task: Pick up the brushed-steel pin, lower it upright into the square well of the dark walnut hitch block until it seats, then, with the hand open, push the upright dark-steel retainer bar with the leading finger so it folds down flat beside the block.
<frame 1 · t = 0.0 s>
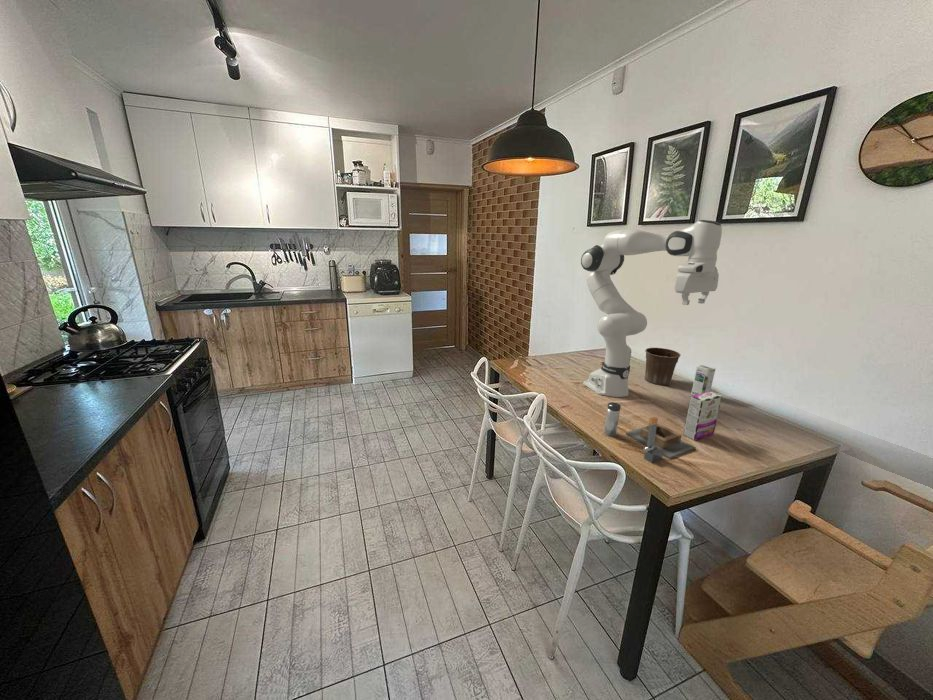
hand: (693, 304, 138), 48 cm above the table, fingers open, 8 cm apart
syrup box: (699, 395, 175), on the table
retainer base: (648, 456, 124), on the table
plant pot: (657, 381, 192), on the table
steel pin: (610, 433, 139), on the table
hitch block: (659, 441, 134), on the table
retainer bar: (652, 432, 122), point 9 cm above the table, hinge at 4.0°
candy bar box: (697, 435, 139), on the table
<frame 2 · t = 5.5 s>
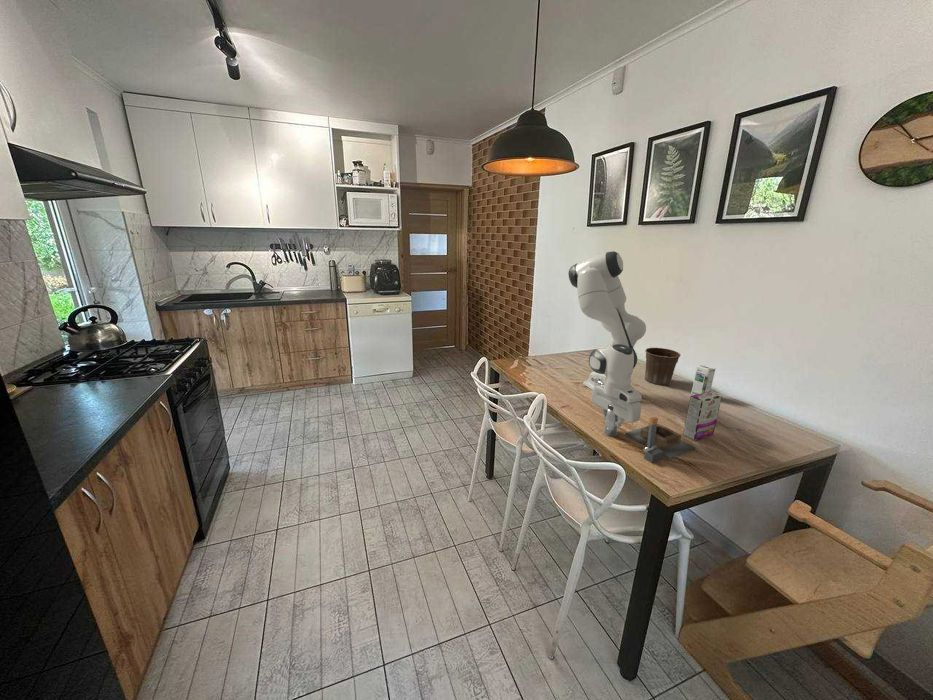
hand: (611, 422, 138), 5 cm above the table, fingers closed on steel pin, 4 cm apart
steel pin: (610, 433, 139), on the table, touching gripper
everything else where it was.
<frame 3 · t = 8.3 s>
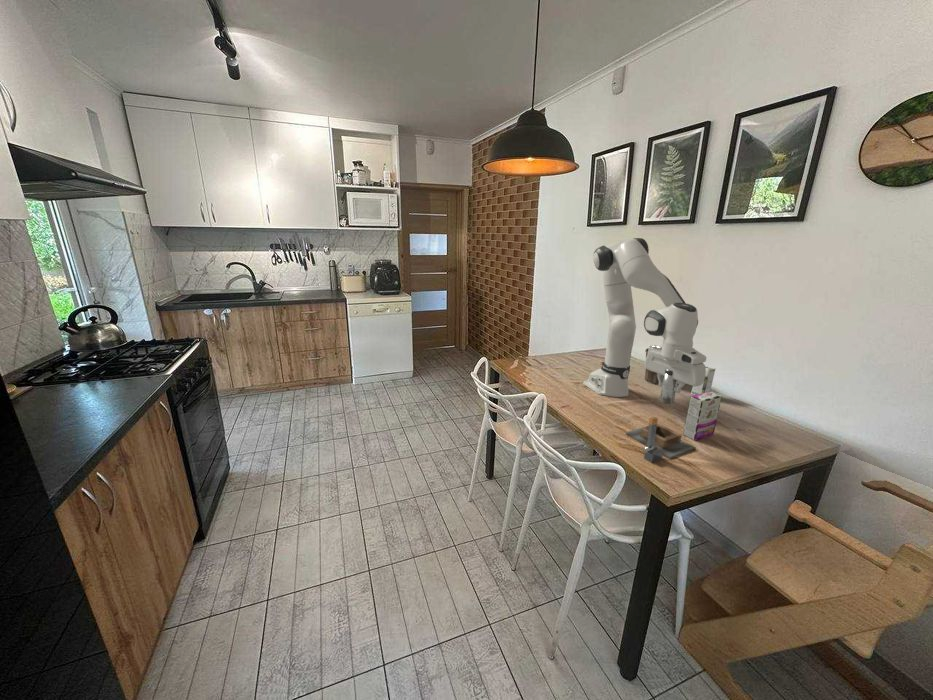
hand: (669, 389, 128), 21 cm above the table, fingers closed on steel pin, 4 cm apart
steel pin: (666, 401, 129), point 16 cm above the table, touching gripper
everything else where it was.
when the fingers open (7 cm above the table, at t = 11.3 s): steel pin drops 1 cm, resting on hitch block.
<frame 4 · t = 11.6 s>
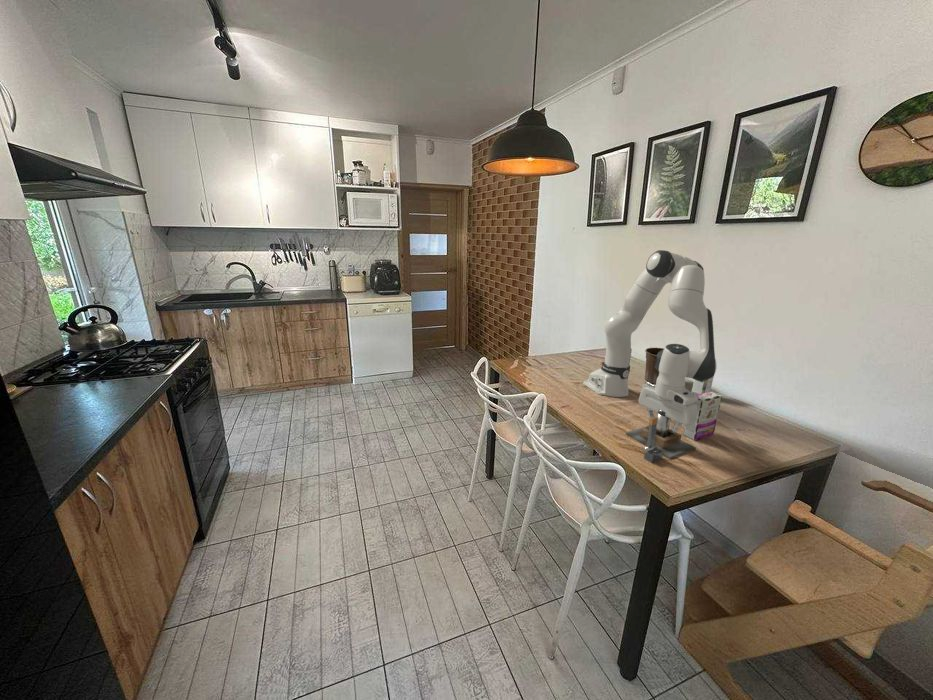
hand: (662, 425, 132), 7 cm above the table, fingers open, 8 cm apart
steel pin: (659, 439, 134), point 1 cm above the table, touching hitch block
everything else where it was.
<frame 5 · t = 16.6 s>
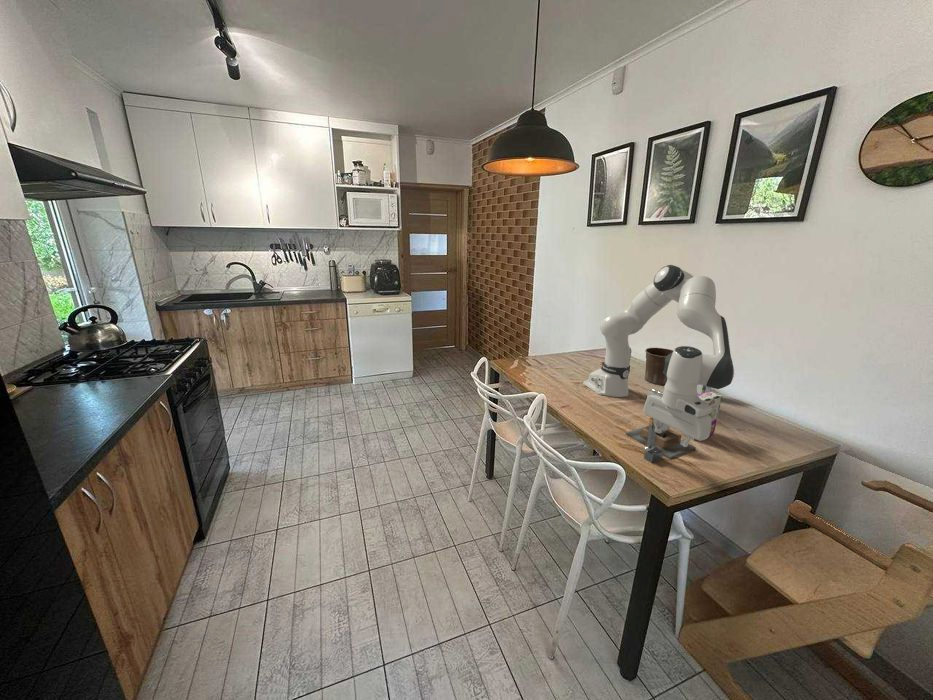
hand: (670, 438, 116), 10 cm above the table, fingers open, 7 cm apart
retainer bar: (652, 432, 122), point 9 cm above the table, hinge at 4.0°, touching gripper
everything else where it was.
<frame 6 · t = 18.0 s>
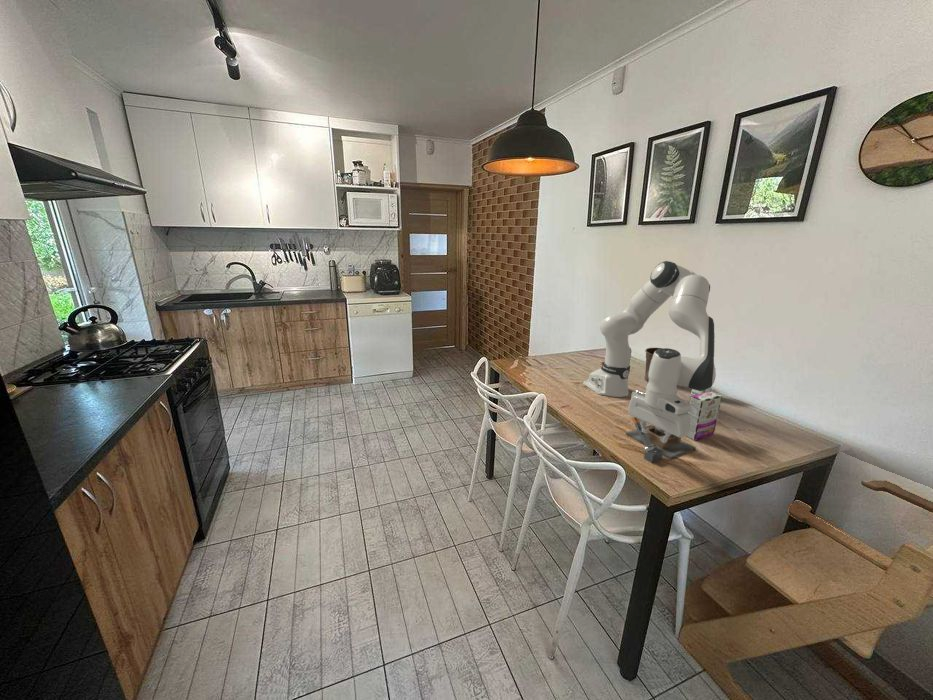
hand: (653, 437, 122), 8 cm above the table, fingers open, 6 cm apart
retainer bar: (641, 431, 126), point 8 cm above the table, hinge at 42.6°, touching gripper
everything else where it was.
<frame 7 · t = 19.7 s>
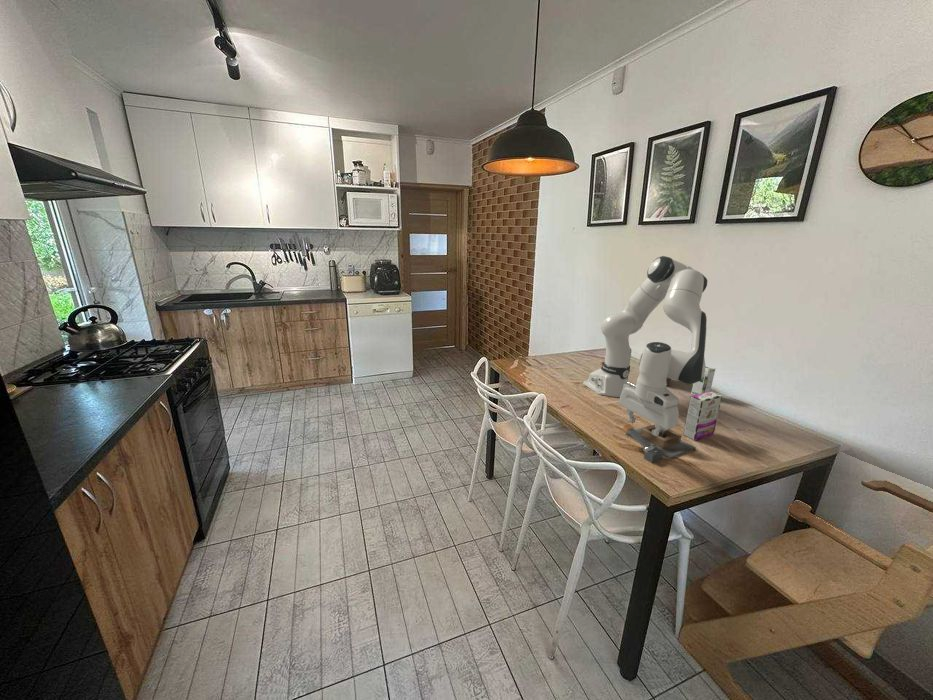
hand: (642, 428, 125), 9 cm above the table, fingers open, 8 cm apart
retainer bar: (636, 435, 128), point 5 cm above the table, hinge at 72.1°
everything else where it was.
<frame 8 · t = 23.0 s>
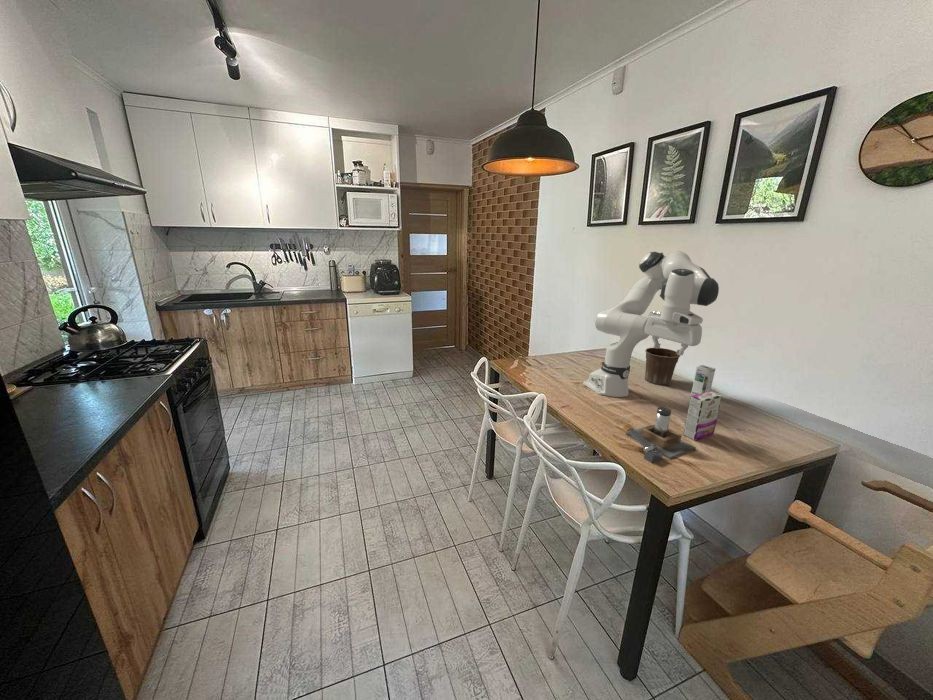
hand: (667, 351, 136), 31 cm above the table, fingers open, 8 cm apart
nothing on the table moved.
at the end: steel pin 0.1 cm off-centre on the hitch block, point 0.9 cm above the hitch block's base; steel pin tilted 1°; retainer bar at +72° (first picture: +4°) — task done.
